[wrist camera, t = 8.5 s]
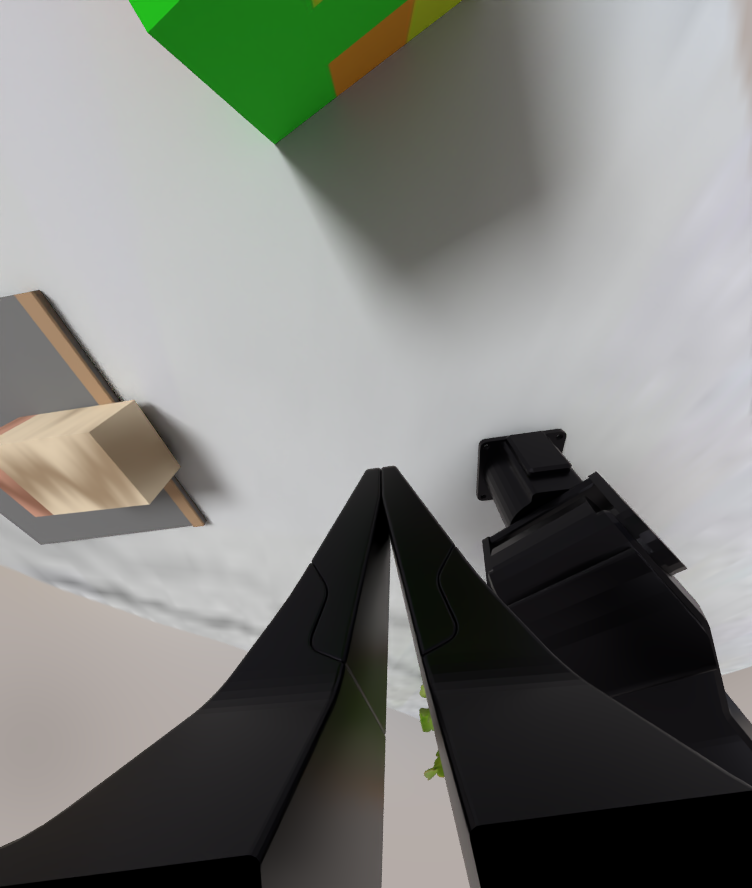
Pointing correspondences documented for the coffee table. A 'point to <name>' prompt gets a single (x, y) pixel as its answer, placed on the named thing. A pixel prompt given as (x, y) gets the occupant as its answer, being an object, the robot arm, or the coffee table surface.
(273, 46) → the puzzle toy
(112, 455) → the maple block
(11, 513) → the mat
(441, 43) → the coffee table surface
